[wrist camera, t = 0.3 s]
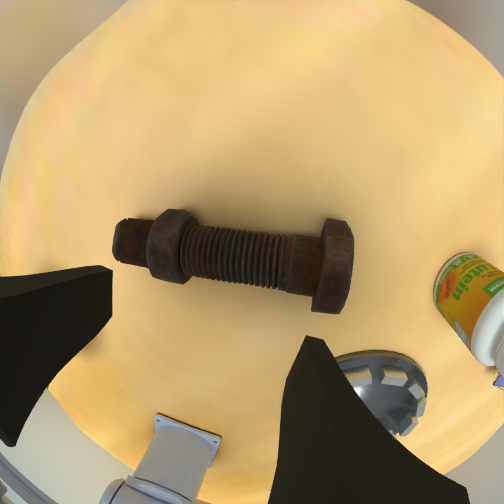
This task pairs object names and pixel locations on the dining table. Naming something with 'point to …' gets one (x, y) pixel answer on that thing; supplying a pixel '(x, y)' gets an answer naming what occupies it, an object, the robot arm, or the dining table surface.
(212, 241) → the bolt
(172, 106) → the dining table surface
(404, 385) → the carrier
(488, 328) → the supplement bottle
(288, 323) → the dining table surface
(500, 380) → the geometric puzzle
